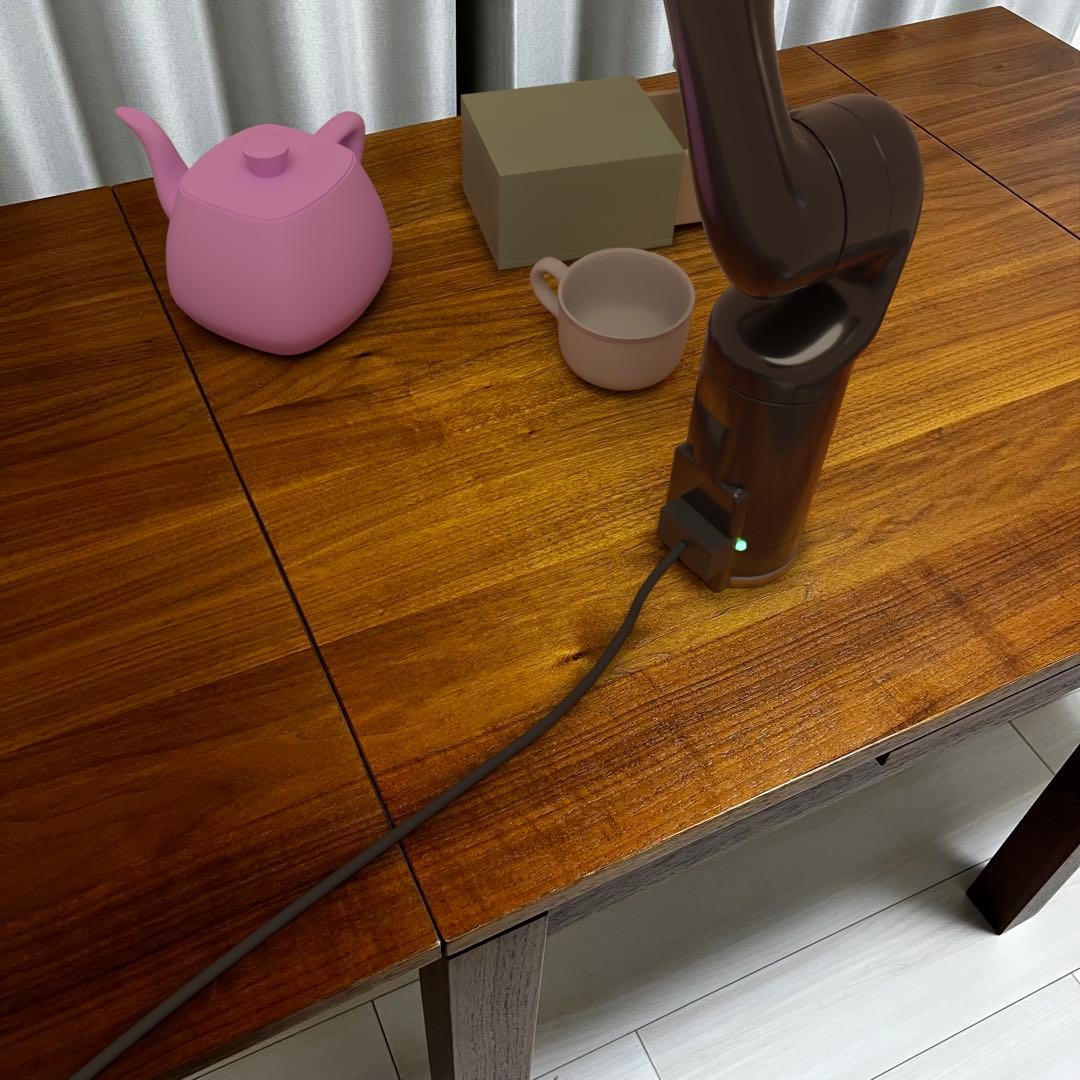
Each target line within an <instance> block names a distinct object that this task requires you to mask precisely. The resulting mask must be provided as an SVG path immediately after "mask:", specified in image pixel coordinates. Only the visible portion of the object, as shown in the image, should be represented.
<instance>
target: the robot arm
mask: <svg viewBox="0 0 1080 1080" xmlns="http://www.w3.org/2000/svg"><path fill="white" fill-rule="evenodd" d="M662 2H663V8H664V12H665V17H666V23H667V27H668V32H669V37H670V43H671V48H672V49H671V50H672V54H673V58H674V61H675V67H676V70H675V73H676V80H677V85H678V88H679V93H680V100H681V107H682V113H683V120H684V127H685V133H686V140H687V147H688V153H689V160H690V166H691V172H692V178H693V184H694V190H695V195H696V200H697V204H698V208H699V212H700V216H701V220H702V221H701V223H702V227H703V231H704V235H705V236H706V240H707V243H708V244H707V245H709V248H710V250H711V253H712V255H713V258H714V259H715V262H716V263H717V265H718V267H719V269H720V270H721V271H722V273H723V274H724V276H725V278H726V279H727V280H728V281H729V283H730V285H729V286H728V287H727V288H726V289H725V290H723V292H722V293H721V294H720V295H719V297H718V298H717V299H716V300H715V302H714V304H713V305H712V307H711V309H710V311H709V316H708V318H707V323H706V327H705V331H704V339H703V344H702V345H703V346H702V352H701V356H700V363H699V369H698V374H697V378H696V383H695V390H694V396H693V401H692V406H691V411H690V418H689V423H688V427H687V428H688V429H687V435H686V440H685V442H683V443H680V444H679V445H677V446H675V449H674V451H673V458H672V464H671V470H670V475H669V481H668V486H667V487H668V488H667V493H666V500H665V504H664V505H662V506H661V507H660V511H659V517H658V523H657V528H656V537H658V538H659V541H660V542H661V543H662V544H663V545H664V546H665V547H666V548H667V549H668V550H669V551H668V553H667V554H666V555H665V556H664V557H663V558H662V559H661V561H660V562H659V563H658V564H657V565H656V567H654V568H653V570H652V571H651V573H649V574H648V576H647V578H645V580H644V582H643V583H642V584H641V586H640V587H639V589H638V591H637V593H636V594H635V596H634V598H633V600H632V602H631V605H630V607H629V609H628V611H627V614H626V616H625V619H624V620H623V622H622V624H621V626H620V627H619V629H618V630H617V632H616V633H615V635H614V637H613V638H612V640H611V641H610V643H609V645H608V646H607V647H606V649H605V650H604V652H603V653H602V654H601V656H600V657H599V659H598V660H597V661H596V662H595V664H594V665H593V667H592V668H591V669H590V670H589V672H588V673H587V674H586V675H585V676H584V677H583V678H582V679H581V681H579V683H577V685H575V687H573V689H572V690H571V691H570V692H569V693H568V694H567V695H566V696H565V697H564V698H563V699H562V700H561V701H560V702H559V703H558V704H557V705H556V706H555V707H554V708H553V709H552V710H551V711H549V712H548V713H547V714H546V715H545V716H544V717H543V718H542V719H540V720H539V721H538V722H537V723H536V724H535V725H533V726H532V727H530V728H529V729H528V730H526V731H525V732H524V733H522V734H521V735H520V736H518V737H517V738H516V739H514V740H513V741H512V742H510V743H509V744H507V745H506V746H504V747H503V748H502V749H501V750H499V751H498V752H497V753H495V754H493V755H492V756H490V757H489V758H488V759H487V760H485V761H484V762H482V763H481V764H479V765H478V766H477V767H475V768H474V769H472V770H471V772H469V773H467V774H466V775H465V776H464V777H462V778H461V779H459V780H458V781H457V782H456V783H454V784H453V785H451V786H450V787H449V788H447V789H446V790H445V791H443V792H442V793H440V795H437V796H436V797H435V798H434V799H433V800H431V801H430V802H429V803H427V804H425V805H424V806H423V807H422V808H420V809H419V810H417V811H416V812H415V813H413V814H412V815H411V816H409V817H408V818H407V819H405V820H404V821H402V822H401V823H400V824H398V825H397V826H396V827H394V828H393V829H391V830H390V831H389V832H387V833H386V834H385V835H383V836H382V837H381V838H379V839H377V841H374V842H373V844H370V845H369V846H368V847H367V848H366V849H364V850H363V851H362V852H360V853H358V854H357V855H356V856H354V857H353V858H352V859H350V860H349V861H347V863H344V865H342V866H341V867H339V868H338V869H337V870H336V871H334V872H333V873H331V874H330V875H329V876H327V877H326V878H324V879H323V880H321V881H320V882H319V883H317V884H316V885H315V886H314V887H312V888H311V889H310V890H308V891H306V892H305V893H304V894H303V895H301V896H300V897H298V898H297V899H296V900H294V901H293V902H291V904H289V905H288V906H286V907H285V908H284V909H282V910H281V911H280V912H278V913H277V914H275V915H274V916H273V917H272V918H270V919H269V920H268V921H266V922H265V923H263V924H262V925H261V926H259V927H258V928H257V929H256V930H254V931H253V932H252V933H250V934H249V935H248V936H246V938H244V939H243V940H241V941H240V942H239V943H237V944H236V945H234V946H233V947H231V948H230V949H229V950H228V951H226V952H225V953H224V954H223V955H221V956H220V957H219V958H217V959H216V960H215V961H213V962H212V963H211V964H209V965H208V966H207V967H206V968H205V969H203V970H202V971H201V972H199V973H198V974H196V975H195V976H194V977H193V978H191V979H190V980H189V981H188V982H186V983H185V984H183V986H181V987H179V989H177V990H176V991H175V992H173V993H172V994H171V995H170V996H168V997H167V998H166V999H165V1000H163V1001H162V1002H161V1003H160V1004H158V1005H157V1006H156V1007H155V1008H154V1009H152V1010H151V1011H150V1012H148V1013H147V1014H146V1015H145V1016H144V1017H142V1018H141V1019H139V1020H138V1021H137V1022H136V1023H135V1024H133V1025H132V1026H131V1027H130V1028H128V1029H127V1030H126V1031H125V1032H124V1033H123V1034H121V1035H120V1036H119V1037H118V1038H116V1039H115V1040H114V1041H113V1042H112V1043H110V1044H109V1045H108V1046H107V1047H105V1048H104V1049H103V1050H102V1051H101V1052H99V1053H98V1054H97V1055H95V1056H94V1057H93V1058H92V1059H91V1060H90V1061H89V1062H87V1063H86V1064H84V1066H82V1067H81V1068H80V1069H79V1070H78V1071H76V1072H75V1073H74V1074H73V1075H72V1076H70V1077H69V1078H68V1079H67V1080H91V1079H93V1078H94V1077H95V1076H96V1075H98V1074H99V1073H100V1072H101V1071H102V1070H104V1069H105V1068H106V1067H107V1066H108V1065H109V1064H111V1063H112V1062H113V1061H114V1060H115V1059H117V1058H118V1057H119V1056H120V1055H122V1054H123V1053H124V1052H125V1051H126V1050H128V1049H129V1048H130V1047H131V1046H133V1045H134V1044H135V1043H136V1042H137V1041H138V1040H140V1039H141V1038H142V1037H144V1035H146V1034H147V1033H148V1032H149V1031H151V1030H152V1029H153V1028H154V1027H155V1026H157V1025H158V1024H159V1023H160V1022H162V1021H163V1020H164V1019H166V1018H167V1017H168V1016H169V1015H171V1013H173V1012H175V1010H177V1009H178V1008H179V1007H180V1006H182V1005H183V1004H184V1003H185V1002H187V1001H188V1000H189V999H191V998H192V997H193V996H194V995H196V994H197V993H198V992H199V991H201V990H202V989H204V988H205V987H206V986H207V985H208V984H210V983H211V982H212V981H213V980H215V979H216V978H217V977H219V976H220V975H221V974H223V972H225V971H226V970H228V969H229V968H231V966H233V965H234V964H235V963H237V962H238V961H239V960H240V959H242V958H243V957H245V956H246V955H247V954H249V953H250V952H252V950H254V949H255V948H256V947H258V946H259V945H261V944H262V943H263V942H264V941H265V940H267V939H268V938H269V937H271V936H272V935H274V934H275V933H277V931H279V930H280V929H281V928H283V927H284V926H285V925H287V924H288V923H289V922H291V921H292V920H293V919H295V918H296V917H297V916H299V915H300V914H301V913H302V912H304V911H305V910H307V909H308V908H309V907H311V906H313V905H314V904H315V903H317V901H319V900H320V899H322V898H323V897H324V896H326V895H327V894H328V893H329V892H331V891H333V890H334V889H335V888H337V887H338V886H339V885H341V884H342V883H343V882H345V881H346V880H348V879H349V878H350V877H351V876H353V875H354V874H355V873H357V872H358V871H359V870H361V869H362V868H364V867H365V866H367V864H369V863H370V862H372V861H373V860H374V859H376V858H377V857H379V856H380V855H381V854H382V853H384V852H385V851H387V850H388V849H389V848H390V847H392V846H394V845H395V844H396V843H397V842H399V841H400V840H401V839H403V838H404V837H405V836H407V835H408V834H410V833H411V832H412V831H413V830H415V829H417V828H418V827H419V826H421V825H422V824H423V823H425V822H426V821H427V820H428V819H430V818H431V817H432V816H434V815H435V814H437V813H438V812H440V811H441V810H443V809H444V808H445V807H446V806H448V805H449V804H450V803H451V802H453V801H454V800H455V799H457V798H458V797H460V796H461V795H462V794H464V793H465V792H467V791H468V790H469V789H470V788H471V787H473V786H474V785H475V784H477V783H478V782H479V781H481V780H482V779H483V778H485V777H486V776H487V775H489V774H490V773H491V772H493V771H494V770H496V769H497V768H498V767H500V766H501V765H502V764H504V763H505V762H507V761H508V760H510V759H511V758H512V757H514V756H515V755H516V754H518V753H520V751H522V750H523V749H525V748H526V747H527V746H529V745H530V744H531V743H533V742H534V741H535V740H537V739H538V738H539V737H540V736H542V735H543V734H544V733H545V732H546V731H548V730H549V729H550V728H551V727H553V725H554V724H555V723H557V722H558V721H559V720H560V719H561V718H562V717H563V716H564V715H565V714H567V712H568V711H570V710H571V708H572V707H574V706H575V704H576V703H577V702H578V701H579V700H580V699H581V698H582V697H583V696H584V695H585V694H586V693H587V692H588V691H589V690H590V688H592V686H593V685H594V684H595V683H596V682H597V681H598V679H599V678H600V677H601V675H602V674H603V673H604V671H605V670H606V669H607V668H608V667H609V665H610V663H611V662H612V661H613V659H614V658H615V656H616V655H617V653H618V652H619V650H620V648H621V647H622V645H623V644H624V643H625V641H626V639H627V638H628V636H629V635H630V633H631V631H632V630H633V628H634V626H635V624H636V622H637V619H638V617H639V615H640V612H641V610H642V608H643V606H644V604H645V602H646V600H647V598H648V597H649V595H650V593H651V592H652V590H653V589H654V587H655V586H656V585H657V584H658V582H659V581H660V580H661V578H662V577H663V576H664V575H665V573H666V572H667V571H669V569H670V568H671V567H672V566H673V565H674V563H675V562H676V561H677V560H678V559H679V561H680V562H681V563H682V564H683V565H684V566H685V567H686V568H688V569H689V570H690V571H691V572H693V573H694V574H695V575H696V576H697V577H698V578H699V579H700V580H701V581H702V582H703V583H704V584H706V585H707V586H708V587H709V588H710V589H711V590H712V591H713V592H715V593H718V592H721V591H723V590H724V589H725V588H728V587H734V588H752V587H759V586H762V585H765V584H769V583H772V582H773V581H776V580H777V579H779V578H781V577H782V576H784V575H785V574H786V573H787V572H788V571H789V570H790V569H792V566H793V565H794V563H795V562H796V559H797V556H798V554H799V551H800V547H801V544H802V536H803V532H804V529H805V526H806V522H807V521H808V517H809V516H808V515H809V513H810V510H811V505H812V502H813V499H814V496H815V493H816V489H817V486H818V483H819V480H820V477H821V473H822V470H823V467H824V463H825V460H826V457H827V453H828V450H829V446H830V444H831V440H832V437H833V433H834V430H835V427H836V424H837V420H838V418H839V414H840V411H841V409H842V405H843V401H844V399H845V395H846V392H847V388H848V386H849V383H850V378H851V375H852V374H853V373H852V372H853V370H854V366H855V365H856V362H857V360H858V359H859V358H860V357H861V355H863V354H864V352H865V351H866V350H867V349H868V348H869V347H870V346H871V344H872V342H873V341H874V340H875V339H876V337H877V335H878V333H879V331H880V329H881V327H882V324H883V322H884V320H885V317H886V315H887V312H888V309H889V307H890V304H891V301H892V299H893V296H894V293H895V291H896V288H897V287H898V284H899V281H900V278H901V276H902V273H903V271H904V268H905V265H906V262H907V260H908V258H909V254H910V253H911V249H912V247H913V243H914V241H915V238H916V234H917V231H918V228H919V225H920V224H919V223H920V219H921V215H922V209H923V204H924V198H925V197H924V196H925V168H924V166H925V165H924V160H923V155H922V150H921V147H920V143H919V141H918V137H917V135H916V133H915V131H914V128H913V126H912V125H911V123H910V122H909V120H908V119H907V118H906V116H905V114H903V113H902V112H901V110H899V109H898V108H897V107H896V106H895V105H894V104H892V103H891V102H889V101H888V100H886V99H884V98H882V97H880V96H877V95H873V94H869V93H863V92H854V93H853V92H852V93H846V94H840V95H836V96H833V97H829V98H826V99H823V100H819V101H816V102H813V103H809V104H805V105H803V106H800V107H796V108H792V109H793V110H789V111H788V107H787V106H788V104H787V100H786V95H785V90H784V86H783V80H782V75H781V69H780V63H779V57H778V49H777V42H776V31H775V30H776V29H775V26H776V25H775V0H662Z"/></svg>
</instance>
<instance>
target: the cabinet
mask: <svg viewBox="0 0 1080 1080" xmlns="http://www.w3.org/2000/svg"><path fill="white" fill-rule="evenodd" d="M645 92H646V91H645V90H644V89H643V87H642V85H640V83H639V81H638V80H637V78H636V77H635V75H634V74H633V75H632V74H631V75H624V76H623V75H622V76H613V77H605V78H604V77H603V78H598V79H597V78H596V79H587V80H579V81H571V82H570V81H569V82H562V83H552V84H544V85H536V86H534V85H533V86H527V87H526V86H525V87H517V88H508V89H500V90H492V91H483V92H482V91H481V92H475V93H464V94H461V95H460V120H461V121H460V126H461V127H460V128H461V129H460V130H461V132H460V133H461V134H460V135H461V181H462V182H461V188H462V190H463V192H464V195H465V197H466V199H467V202H468V204H469V206H470V208H471V211H472V213H473V216H474V217H475V220H476V222H477V224H478V226H479V229H480V231H481V233H482V236H483V238H484V240H485V242H486V245H487V247H488V250H489V251H490V254H491V256H492V258H493V261H494V263H495V265H496V267H497V270H498V271H503V270H504V271H505V270H511V269H518V268H524V267H532V266H534V265H535V264H536V263H537V262H538V261H539V260H541V259H543V258H547V257H552V258H556V259H558V260H560V261H561V262H566V261H572V260H579V259H581V258H583V257H584V256H586V255H588V254H591V253H593V252H596V251H601V250H605V249H611V248H634V249H641V250H647V249H654V248H661V247H669V246H672V244H673V238H674V233H675V226H676V225H675V218H676V211H677V204H678V197H679V190H680V183H681V176H682V169H683V162H684V156H685V151H684V150H683V148H682V147H681V145H680V144H679V142H678V141H677V139H676V138H675V136H674V135H673V133H672V132H671V130H670V129H669V127H668V126H667V124H666V123H665V121H664V120H663V118H662V117H661V115H660V114H659V112H658V111H657V110H656V108H655V107H654V105H653V104H652V102H651V101H650V99H649V98H648V96H647V95H646V93H645Z"/></svg>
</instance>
